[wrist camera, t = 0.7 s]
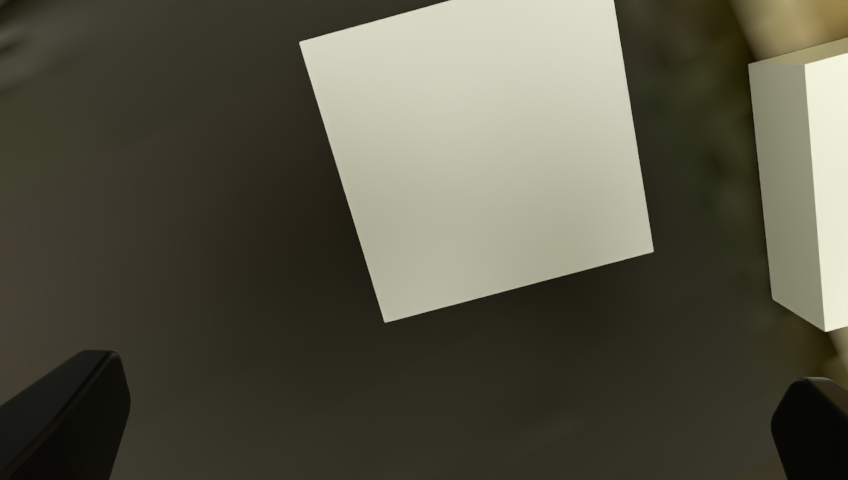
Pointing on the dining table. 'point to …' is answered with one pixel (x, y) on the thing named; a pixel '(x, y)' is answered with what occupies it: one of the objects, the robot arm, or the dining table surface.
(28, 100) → the dining table surface
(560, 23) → the cream panel
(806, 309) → the shallow square tray
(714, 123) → the dining table surface
